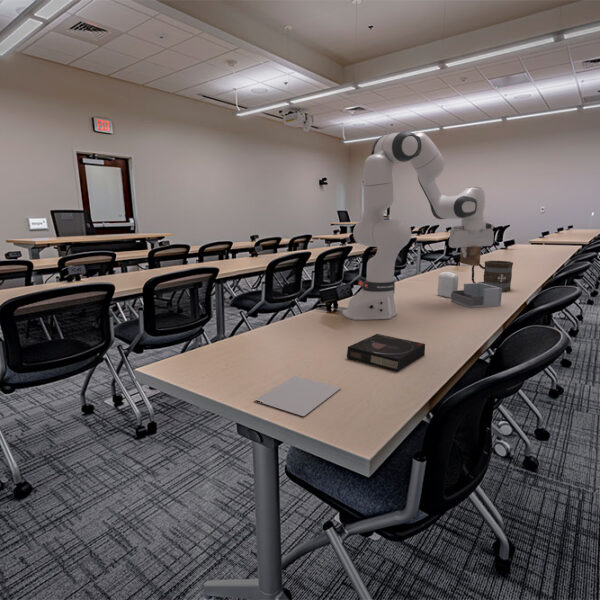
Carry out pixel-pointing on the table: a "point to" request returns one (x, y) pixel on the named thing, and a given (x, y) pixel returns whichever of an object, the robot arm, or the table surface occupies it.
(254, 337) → the table surface
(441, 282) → the photo printer
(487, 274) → the mug
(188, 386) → the table surface
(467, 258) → the brown rectangular block
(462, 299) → the cabinet
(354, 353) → the portable cd player
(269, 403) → the paper stack
